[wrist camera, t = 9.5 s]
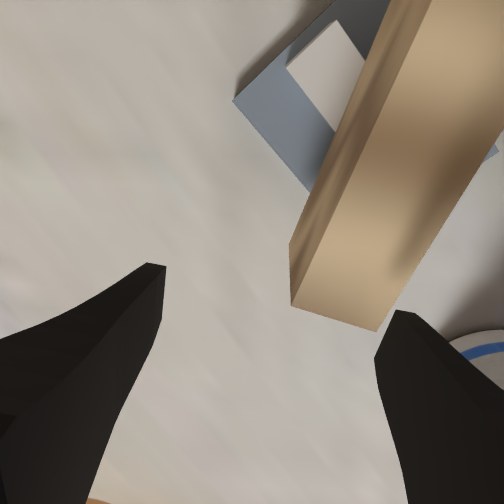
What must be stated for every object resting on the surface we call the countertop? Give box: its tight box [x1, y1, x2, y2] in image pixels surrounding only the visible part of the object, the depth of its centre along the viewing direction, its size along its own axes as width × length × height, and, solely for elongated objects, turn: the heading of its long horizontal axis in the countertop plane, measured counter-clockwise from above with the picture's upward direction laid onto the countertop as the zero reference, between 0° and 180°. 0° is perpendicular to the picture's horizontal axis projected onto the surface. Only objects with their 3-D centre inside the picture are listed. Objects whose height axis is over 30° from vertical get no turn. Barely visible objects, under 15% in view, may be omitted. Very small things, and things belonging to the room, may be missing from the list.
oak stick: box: [289, 0, 504, 332], centre depth 14 cm, size 12×3×5 cm, turn 162°
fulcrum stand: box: [232, 0, 499, 193], centre depth 17 cm, size 10×8×3 cm
